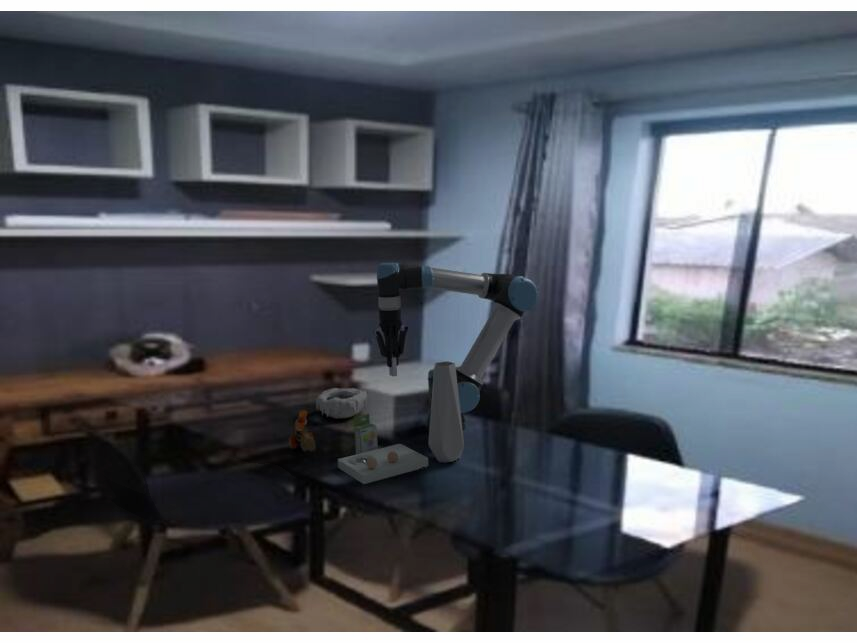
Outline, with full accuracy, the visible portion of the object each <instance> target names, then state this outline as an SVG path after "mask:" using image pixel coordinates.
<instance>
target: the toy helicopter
mask: <svg viewBox="0 0 857 643" xmlns="http://www.w3.org/2000/svg"><path fill="white" fill-rule="evenodd" d="M298 414H299V415H298V418H297V419H296V420H295V421H294V430H295V431H294V432H295V435H291V436H289V437H288V445H289V444H290V446H291V448H296V449H297V446H299V447H300V449H301V450H302V449H303V450H302V452H303V451H306V450H309V452H315V451H316V450H317V446H316V445H317V444H316V441H315V438H314V435H313V433H312V432H308V430H307V427H306V425H307V423H308V422H307V421H308V420H307V416H308V410H303V409H302V410H300V411H299V413H298ZM297 444H298V445H297ZM290 446H289V447H290Z"/></svg>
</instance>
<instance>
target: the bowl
mask: <svg viewBox="0 0 857 643" xmlns="http://www.w3.org/2000/svg"><path fill="white" fill-rule="evenodd" d="M315 399H316V400H315V402H316V403H315V404H316V405H315V406H316V407H315V409H316V410H317V412H318V410H319V411H320V412H321V416H324V414H326V417H327V418H329V417H330V418H332V419H336V420H337V419H347V418H348V419H349V418H351V417H353V416H355V415H357V414H358V413H360V412H361V411H362V410H364V409H365V408H366V407H367V403H368V396H367V391H365V390H361V389H357V388H355V387H354V388H353V387H352V388H350V387H349V388H337V387H333V388H329V389H327V390H324V391H323V392H321V394H320V395H318V396H317V397H316V398H315Z"/></svg>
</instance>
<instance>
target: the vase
mask: <svg viewBox="0 0 857 643" xmlns="http://www.w3.org/2000/svg"><path fill="white" fill-rule="evenodd" d="M433 369H434V377H433V389H432V402H431V414H430V427H429V431H428V447H429V448H430V450H431V452H432V454H433V455H434V457H435V459H436V460H437V462H438V461H439V463H447V462H451V461H455V460H456V461H458V460H459V459H460V458H461V457H462V454H463V451H464V447H465V442H464V440H465V439H464V432H463V431H464V429H463V430H462V421H461V412H460V403H459V394H458V385H457V376H456V363H455V362H453V361H452V362H451V361H448V360H447V361H438V362H434V367H433ZM458 458H459V459H458ZM457 459H458V460H457ZM444 461H445V462H444ZM456 461H455V462H456Z"/></svg>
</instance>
